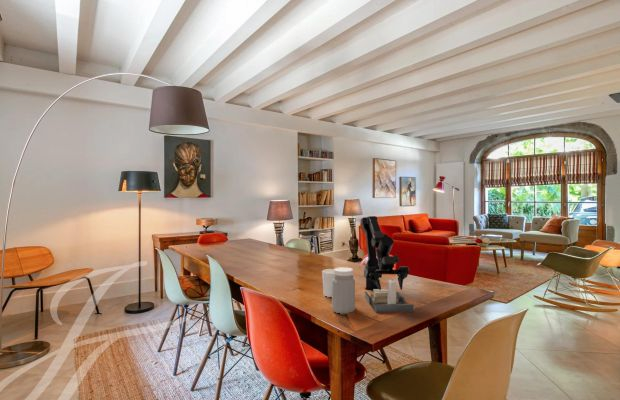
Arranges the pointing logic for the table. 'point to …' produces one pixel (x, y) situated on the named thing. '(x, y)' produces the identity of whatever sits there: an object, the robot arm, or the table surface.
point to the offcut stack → (380, 296)
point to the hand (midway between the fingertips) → (391, 289)
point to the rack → (390, 305)
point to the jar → (343, 290)
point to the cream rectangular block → (391, 292)
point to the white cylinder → (327, 281)
